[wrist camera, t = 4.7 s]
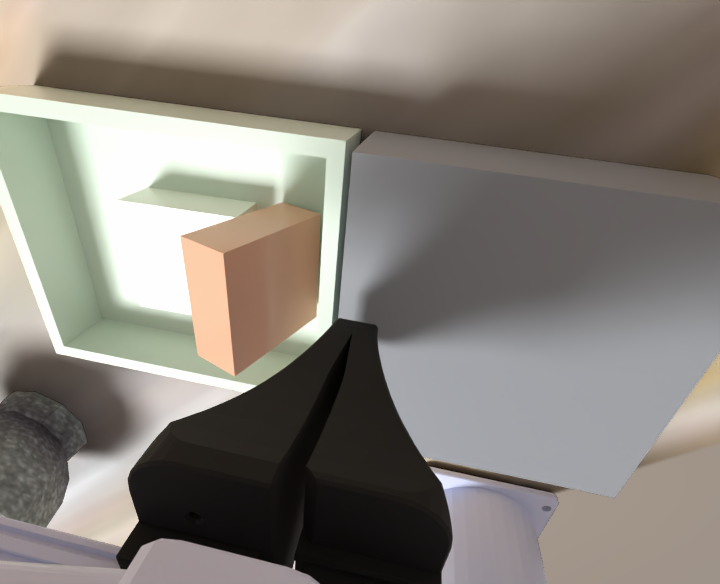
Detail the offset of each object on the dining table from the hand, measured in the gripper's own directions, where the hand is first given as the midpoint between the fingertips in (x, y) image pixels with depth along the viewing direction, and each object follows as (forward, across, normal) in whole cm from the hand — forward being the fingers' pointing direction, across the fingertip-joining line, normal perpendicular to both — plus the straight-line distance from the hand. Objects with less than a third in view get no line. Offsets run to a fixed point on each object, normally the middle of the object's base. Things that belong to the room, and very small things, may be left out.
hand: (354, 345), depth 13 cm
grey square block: (+6, -5, 0) cm, 8 cm away
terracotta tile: (+2, +3, 0) cm, 4 cm away
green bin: (+6, +8, 0) cm, 10 cm away
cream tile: (+3, +8, 0) cm, 9 cm away
